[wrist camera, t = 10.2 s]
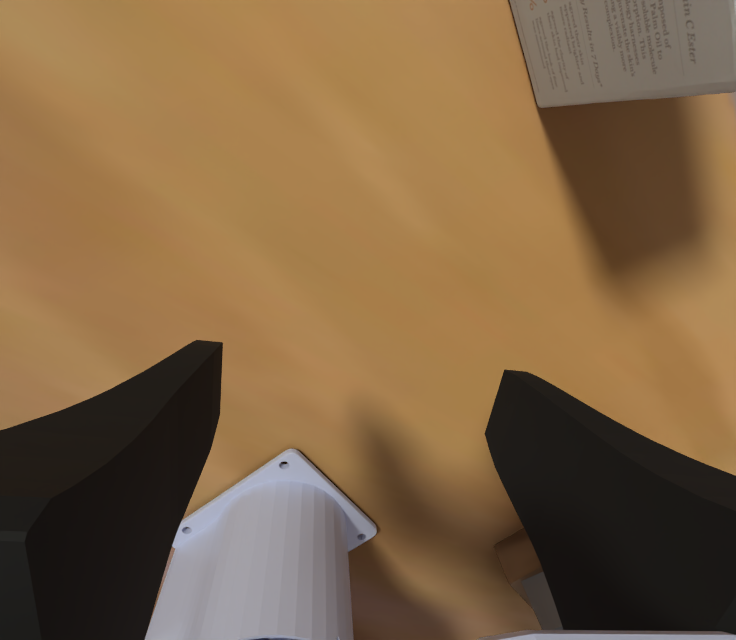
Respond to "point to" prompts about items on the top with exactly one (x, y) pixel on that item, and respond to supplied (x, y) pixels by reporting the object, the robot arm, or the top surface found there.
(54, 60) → the top surface
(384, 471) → the top surface
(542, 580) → the top block
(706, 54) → the small box
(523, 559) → the base block
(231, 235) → the top surface
